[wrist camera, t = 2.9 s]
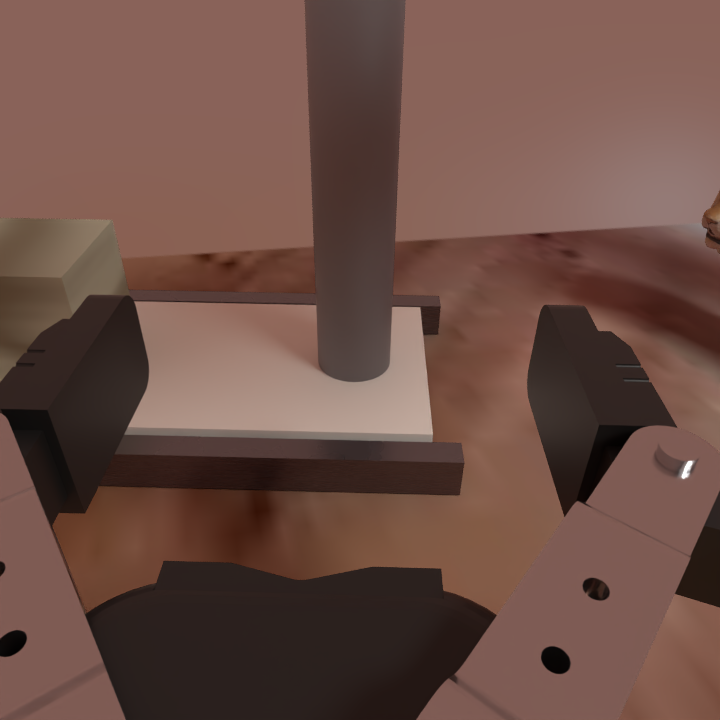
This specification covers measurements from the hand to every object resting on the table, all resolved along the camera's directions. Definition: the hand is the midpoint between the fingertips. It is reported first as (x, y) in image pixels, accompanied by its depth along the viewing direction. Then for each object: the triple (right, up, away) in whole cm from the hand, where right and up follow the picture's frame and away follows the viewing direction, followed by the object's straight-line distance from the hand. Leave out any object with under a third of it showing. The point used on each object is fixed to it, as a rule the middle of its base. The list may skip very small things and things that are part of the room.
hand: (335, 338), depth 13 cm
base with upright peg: (-7, -1, +15) cm, 16 cm away
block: (-12, 0, +14) cm, 19 cm away
